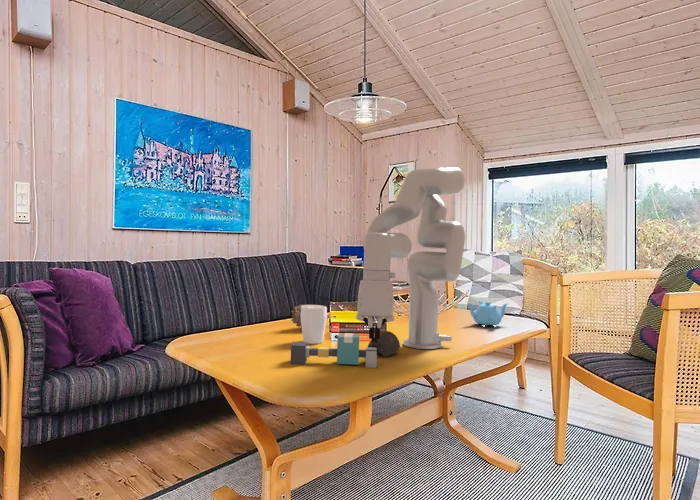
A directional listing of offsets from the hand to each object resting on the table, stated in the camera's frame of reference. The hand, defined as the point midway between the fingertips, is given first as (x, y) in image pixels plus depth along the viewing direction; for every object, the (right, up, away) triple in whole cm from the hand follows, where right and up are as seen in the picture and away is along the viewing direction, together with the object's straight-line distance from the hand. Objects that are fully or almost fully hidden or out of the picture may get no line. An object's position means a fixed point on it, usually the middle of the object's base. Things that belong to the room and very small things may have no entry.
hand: (374, 341), depth 132 cm
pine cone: (-20, -5, +51) cm, 56 cm away
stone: (+4, -7, +13) cm, 15 cm away
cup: (-19, -6, +27) cm, 34 cm away
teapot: (+51, -6, +66) cm, 83 cm away
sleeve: (-7, -7, +1) cm, 10 cm away
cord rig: (-11, -6, +1) cm, 13 cm away
